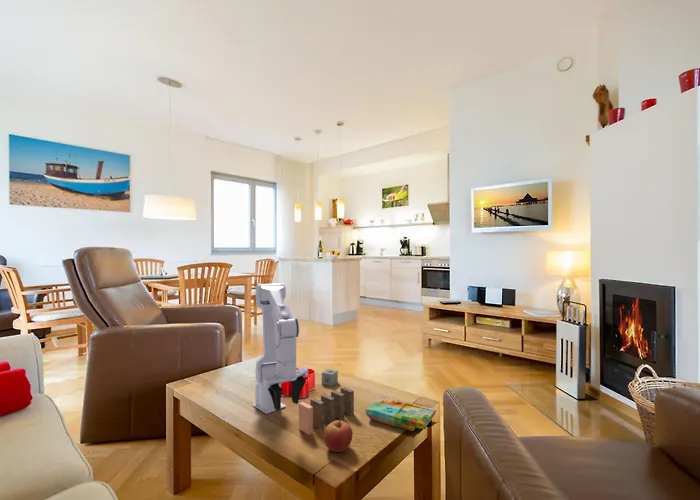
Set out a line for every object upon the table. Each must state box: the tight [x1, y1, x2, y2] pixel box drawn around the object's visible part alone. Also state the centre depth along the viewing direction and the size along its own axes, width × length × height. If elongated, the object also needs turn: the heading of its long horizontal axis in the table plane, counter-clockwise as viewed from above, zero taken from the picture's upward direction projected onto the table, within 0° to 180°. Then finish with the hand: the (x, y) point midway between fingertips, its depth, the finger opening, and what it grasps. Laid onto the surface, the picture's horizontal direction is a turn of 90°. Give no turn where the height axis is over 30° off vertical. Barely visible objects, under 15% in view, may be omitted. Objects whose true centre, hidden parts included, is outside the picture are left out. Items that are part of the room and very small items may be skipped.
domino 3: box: [320, 393, 336, 425], centre depth 112 cm, size 2×5×8 cm, turn 44°
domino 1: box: [298, 401, 314, 436], centre depth 106 cm, size 2×5×8 cm, turn 44°
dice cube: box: [321, 368, 339, 387], centre depth 145 cm, size 5×5×5 cm
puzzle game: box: [365, 395, 437, 432], centre depth 113 cm, size 12×5×20 cm
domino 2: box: [309, 397, 325, 431], centre depth 109 cm, size 2×5×8 cm, turn 44°
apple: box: [323, 419, 353, 453], centre depth 96 cm, size 8×8×8 cm
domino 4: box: [330, 389, 345, 421], centre depth 115 cm, size 2×5×8 cm, turn 44°
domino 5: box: [340, 386, 355, 417], centre depth 118 cm, size 2×5×8 cm, turn 44°
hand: (286, 406), depth 101 cm, fingers open, 6 cm apart
